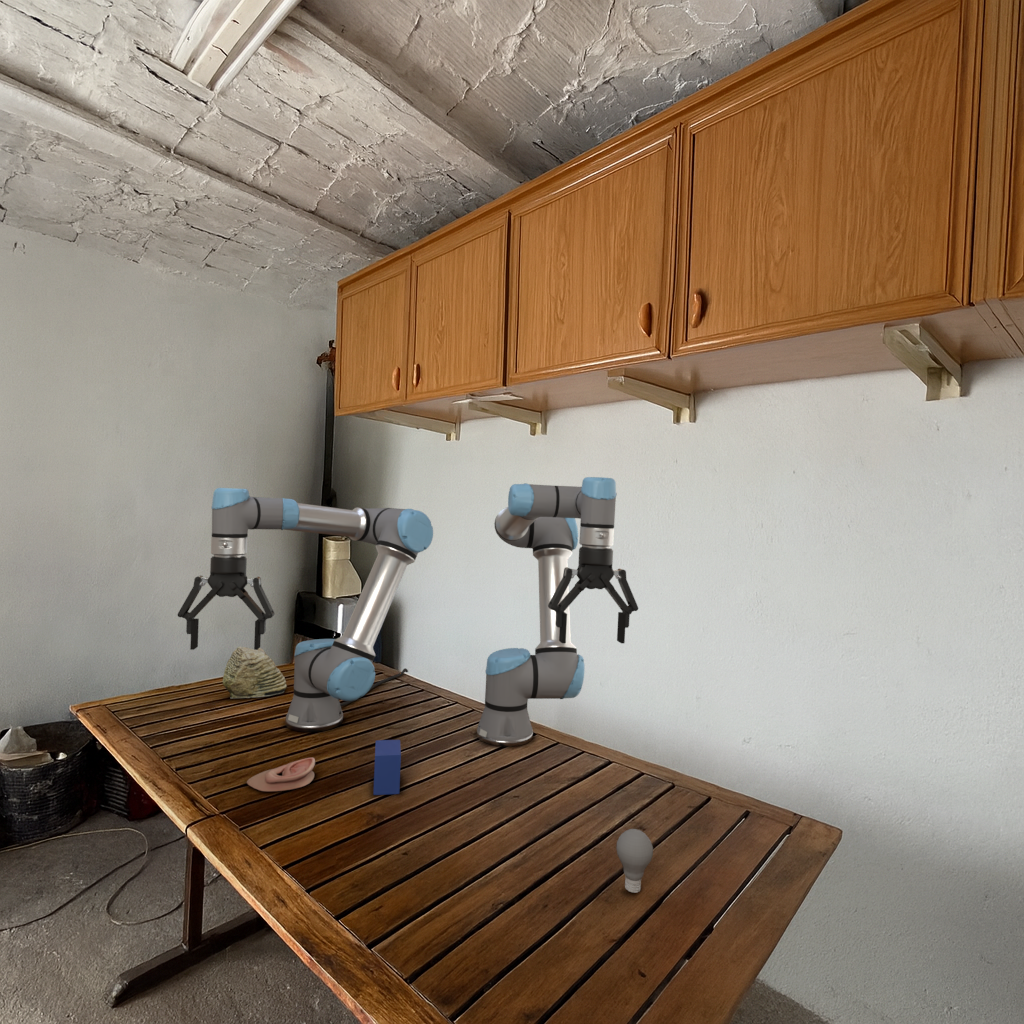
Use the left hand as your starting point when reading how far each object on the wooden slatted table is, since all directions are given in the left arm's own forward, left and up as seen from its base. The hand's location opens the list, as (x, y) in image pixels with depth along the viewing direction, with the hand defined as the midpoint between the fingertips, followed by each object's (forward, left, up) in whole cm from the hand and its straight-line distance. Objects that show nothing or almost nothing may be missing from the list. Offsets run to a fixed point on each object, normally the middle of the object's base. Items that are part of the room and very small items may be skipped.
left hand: (225, 648), depth 145 cm
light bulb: (-23, +92, -28) cm, 99 cm away
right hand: (-49, +67, +6) cm, 83 cm away
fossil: (-33, -44, -28) cm, 61 cm away
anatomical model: (-6, +15, -28) cm, 32 cm away
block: (-20, +33, -28) cm, 48 cm away
